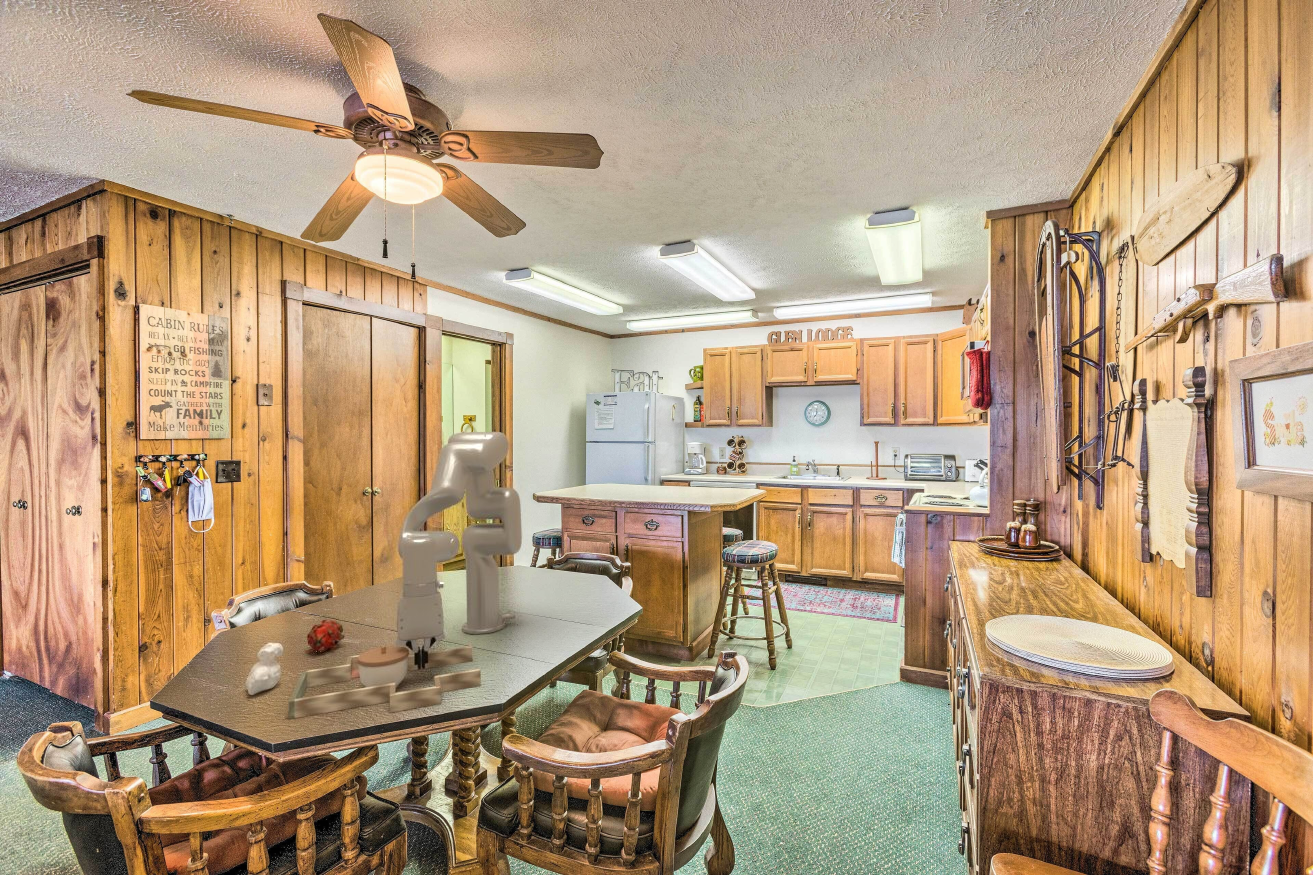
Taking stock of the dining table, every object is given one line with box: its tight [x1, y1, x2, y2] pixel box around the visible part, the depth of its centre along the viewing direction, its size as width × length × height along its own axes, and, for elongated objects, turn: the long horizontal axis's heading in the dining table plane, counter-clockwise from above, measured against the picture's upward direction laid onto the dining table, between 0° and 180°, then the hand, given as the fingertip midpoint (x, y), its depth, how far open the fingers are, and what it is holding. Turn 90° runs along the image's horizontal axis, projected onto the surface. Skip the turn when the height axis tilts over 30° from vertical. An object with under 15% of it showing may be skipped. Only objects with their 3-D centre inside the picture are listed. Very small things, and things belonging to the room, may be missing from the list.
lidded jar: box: [358, 645, 410, 689], centre depth 136 cm, size 11×11×9 cm
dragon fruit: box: [306, 619, 346, 655], centre depth 163 cm, size 8×8×12 cm
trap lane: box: [288, 645, 482, 720], centre depth 137 cm, size 38×30×4 cm
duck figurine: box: [245, 641, 284, 696], centre depth 138 cm, size 12×8×11 cm
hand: (421, 666), depth 139 cm, fingers closed
